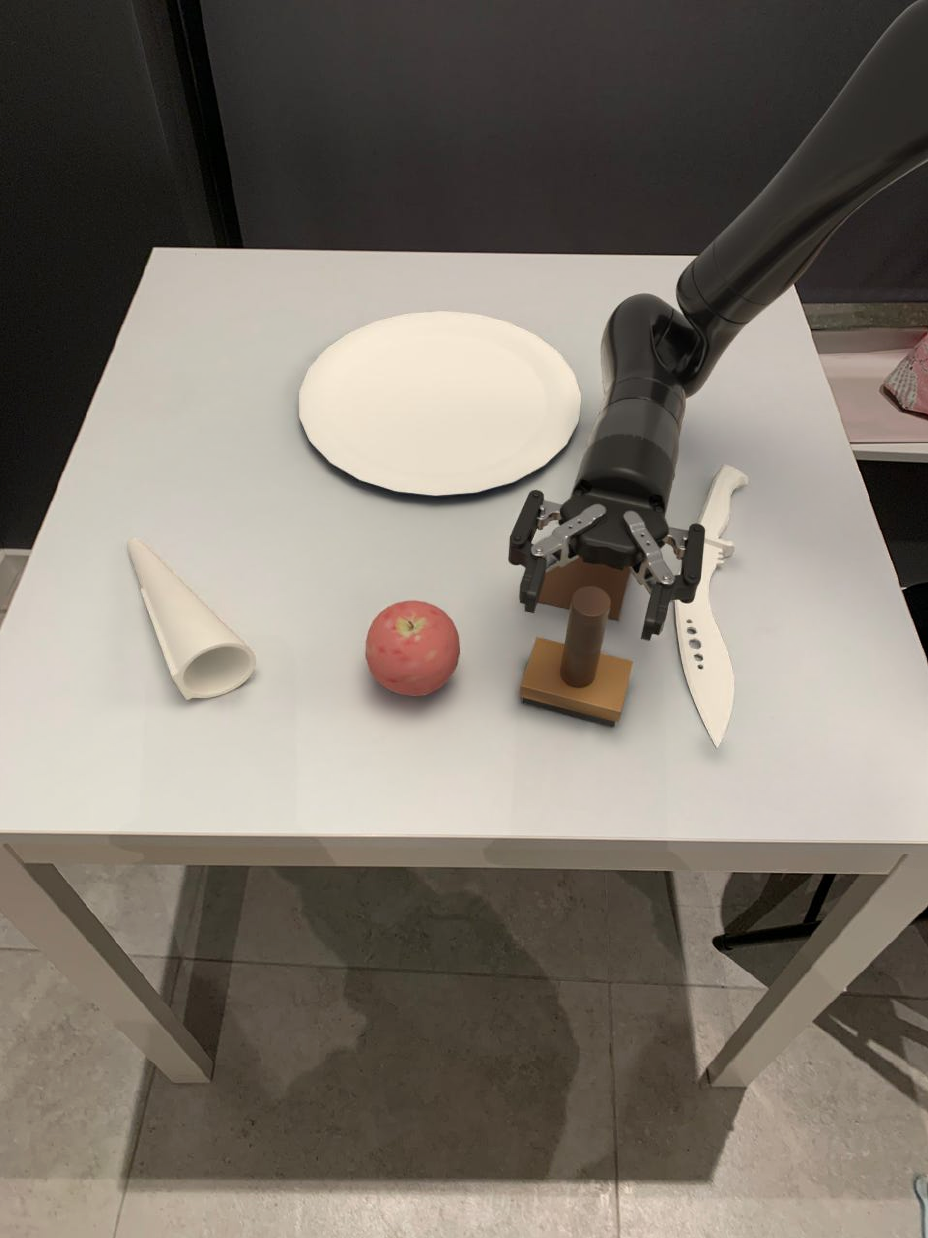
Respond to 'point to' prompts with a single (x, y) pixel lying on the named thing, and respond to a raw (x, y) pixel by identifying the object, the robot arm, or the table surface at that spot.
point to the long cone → (190, 631)
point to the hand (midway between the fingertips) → (588, 619)
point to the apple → (412, 648)
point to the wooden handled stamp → (579, 666)
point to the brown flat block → (584, 584)
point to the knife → (710, 615)
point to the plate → (439, 403)
